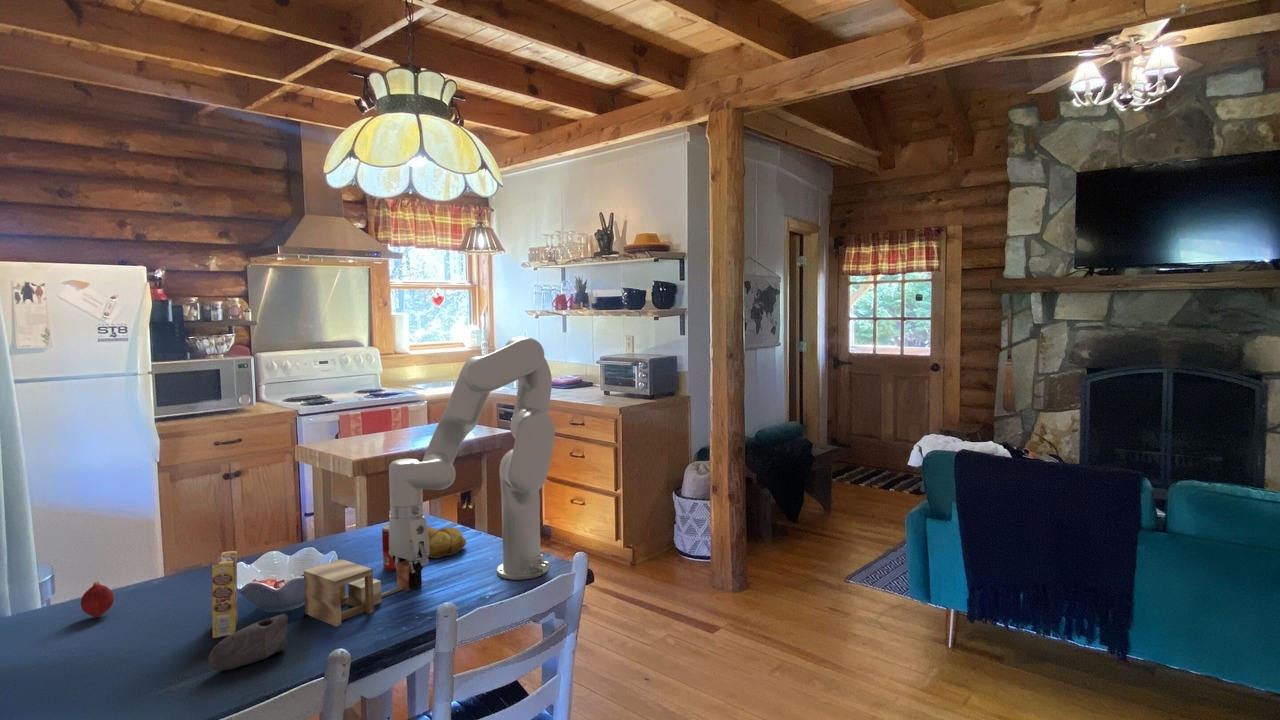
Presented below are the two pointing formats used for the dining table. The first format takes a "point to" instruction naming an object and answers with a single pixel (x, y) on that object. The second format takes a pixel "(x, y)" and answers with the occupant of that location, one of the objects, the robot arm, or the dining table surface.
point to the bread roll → (445, 541)
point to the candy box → (224, 594)
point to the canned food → (387, 549)
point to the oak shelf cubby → (335, 590)
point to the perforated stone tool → (250, 644)
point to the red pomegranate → (97, 600)
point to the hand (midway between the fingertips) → (409, 584)
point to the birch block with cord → (379, 586)
